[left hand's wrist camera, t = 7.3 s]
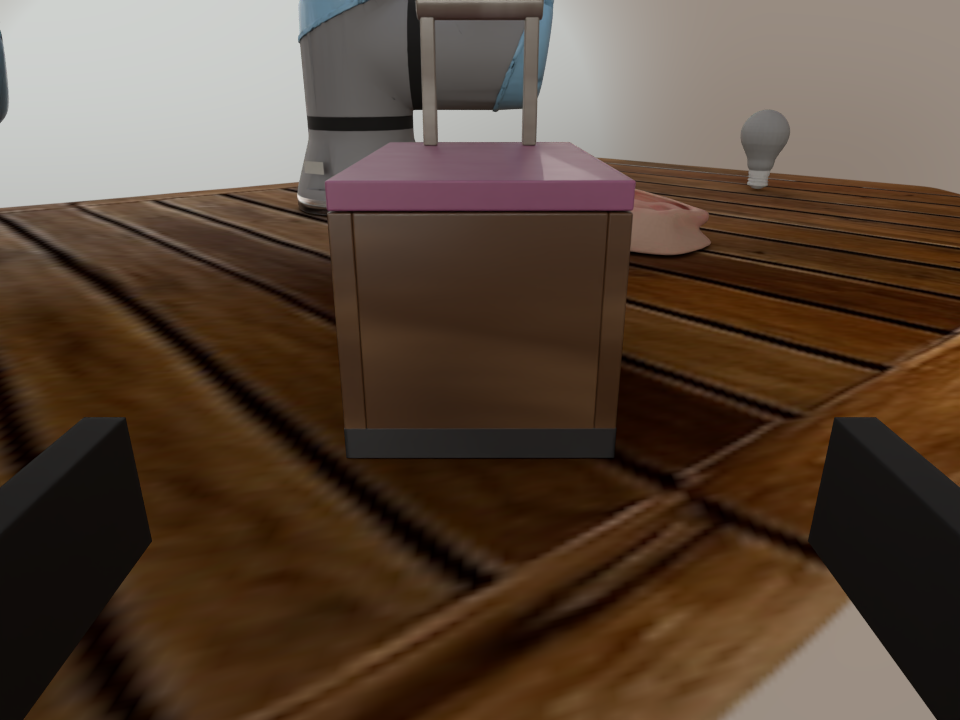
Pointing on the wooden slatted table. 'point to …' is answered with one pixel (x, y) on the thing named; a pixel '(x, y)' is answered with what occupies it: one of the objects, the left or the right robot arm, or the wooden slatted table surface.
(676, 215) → the anatomical model
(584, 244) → the chest
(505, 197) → the lid
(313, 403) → the wooden slatted table surface
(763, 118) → the light bulb
